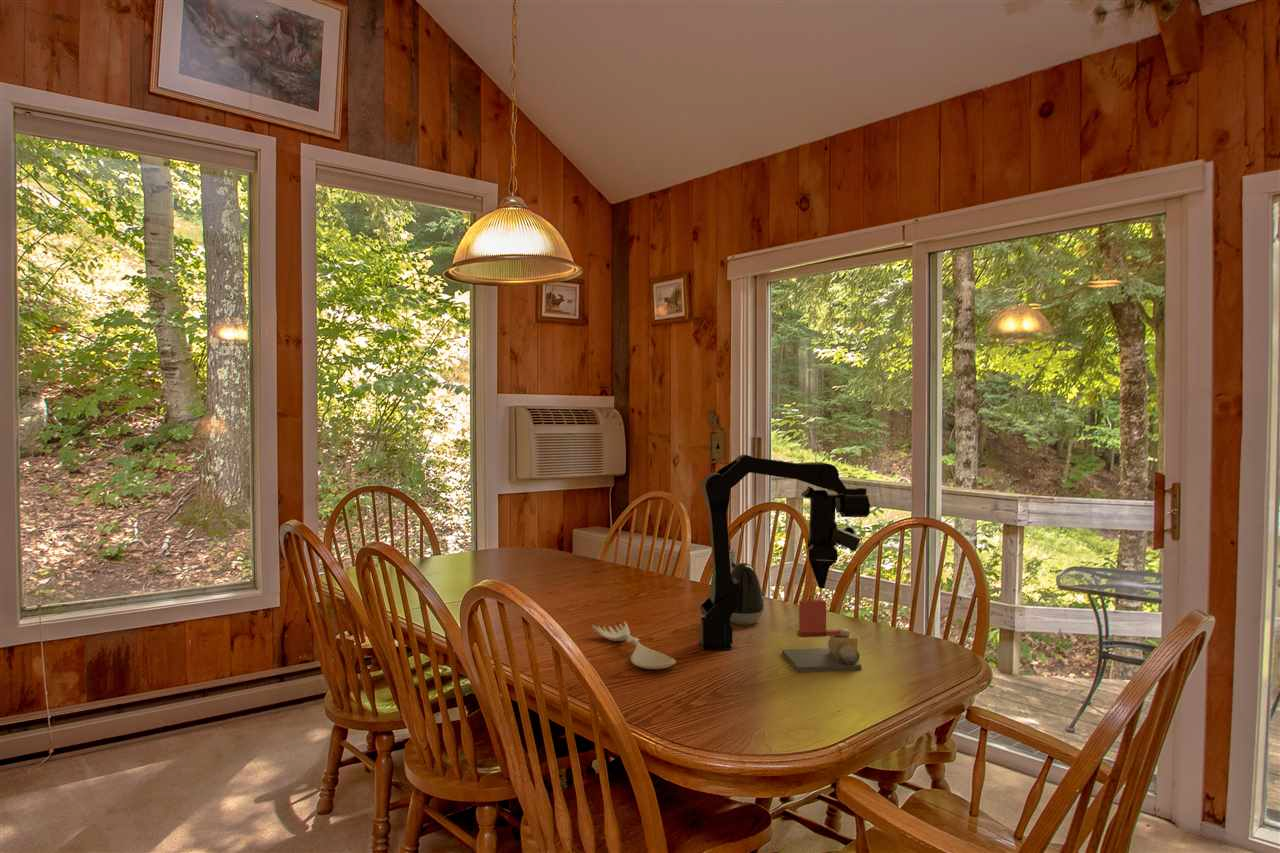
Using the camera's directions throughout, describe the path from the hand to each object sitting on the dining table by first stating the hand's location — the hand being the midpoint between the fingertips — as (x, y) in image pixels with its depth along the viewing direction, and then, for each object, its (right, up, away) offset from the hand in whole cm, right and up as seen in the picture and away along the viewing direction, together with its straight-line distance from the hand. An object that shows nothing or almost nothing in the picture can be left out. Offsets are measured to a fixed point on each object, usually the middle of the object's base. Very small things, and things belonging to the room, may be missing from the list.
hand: (820, 584), depth 181 cm
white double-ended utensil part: (-43, -15, -6) cm, 46 cm away
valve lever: (-3, -8, -15) cm, 17 cm away
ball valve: (+2, -13, -14) cm, 19 cm away
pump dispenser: (-16, -14, +18) cm, 28 cm away
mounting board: (-3, -14, -13) cm, 19 cm away
